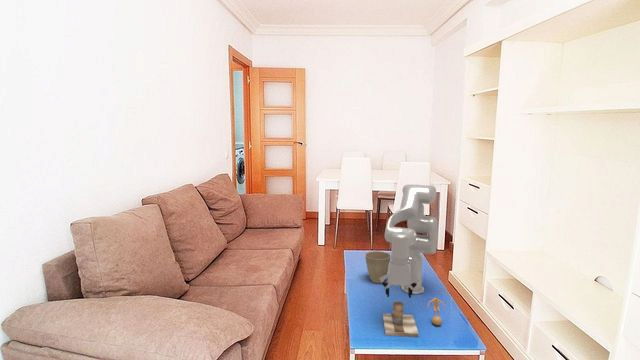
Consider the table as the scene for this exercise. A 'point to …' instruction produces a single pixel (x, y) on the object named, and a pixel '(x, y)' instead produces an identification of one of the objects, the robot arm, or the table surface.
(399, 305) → the brown cylinder
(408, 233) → the robot arm
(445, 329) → the table surface
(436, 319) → the figurine
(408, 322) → the floor board
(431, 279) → the table surface
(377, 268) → the plant pot
